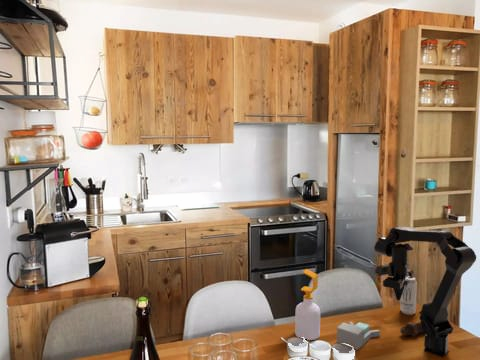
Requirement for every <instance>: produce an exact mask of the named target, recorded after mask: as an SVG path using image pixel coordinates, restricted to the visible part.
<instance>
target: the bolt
mask: <svg viewBox="0 0 480 360" xmlns="http://www.w3.org/2000/svg"><path fill="white" fill-rule="evenodd" d="M436 328H437V327H436ZM399 331H400V334H401V335H402V336H404V337H405V336H412V337H416V336H417V335H418V334H419V333H421V332H422V333H423V329H422V325H421V321H420V322H416V323H414V322H412V321H409V322H407V324H406V325H405V326H402V327H401V328H400V330H399Z"/></svg>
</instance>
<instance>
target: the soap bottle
mask: <svg viewBox="0 0 480 360" xmlns="http://www.w3.org/2000/svg"><path fill="white" fill-rule="evenodd" d="M302 273H303V274H304V275H306V276H308V277H310V278H311V279H312V287H311V286H305V285H304V286H303V287H302V288H300V291H302V292H304V293H305V294H304V295H303V301H302V302H300V303H299V304H297V305H296V307H295V317H294V318H295V319H294V324H295V326H294V327H295V328H294V330H295V331H294V333H295V336H296V337H297V338H299V337H304V338H305V339H307V340H306V341H314V340H318V339H319V338H320V335H321V309H320V307H319V305H318V304H316V303H314V302H313V301H314V300H313V299H314V296H313V295H311V294H313V292H315V291H316V290H317V288H318V285H319V284H318V283H319V282H318V281H319V279H318V278H319V277H318V274H317V273H316V272H314V271H312V270H310V269H307V268H306V269H304V270H303V271H302Z"/></svg>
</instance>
